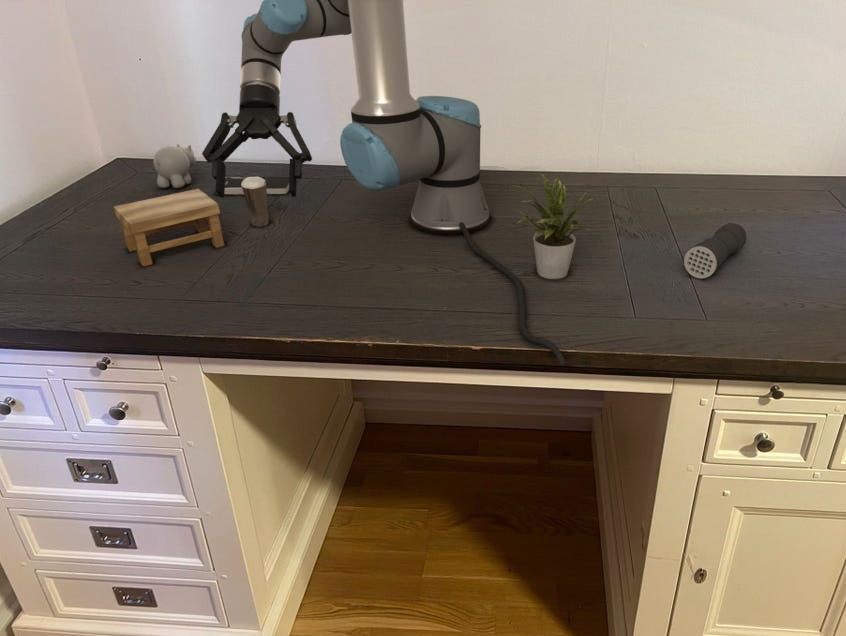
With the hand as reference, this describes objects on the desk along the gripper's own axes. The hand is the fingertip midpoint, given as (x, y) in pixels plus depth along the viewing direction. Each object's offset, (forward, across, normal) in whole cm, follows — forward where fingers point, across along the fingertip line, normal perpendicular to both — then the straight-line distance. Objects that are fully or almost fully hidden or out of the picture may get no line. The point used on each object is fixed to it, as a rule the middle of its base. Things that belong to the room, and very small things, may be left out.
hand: (256, 194), depth 136 cm
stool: (+12, +13, +3) cm, 18 cm away
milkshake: (+4, 0, -5) cm, 6 cm away
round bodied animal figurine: (-14, +23, -23) cm, 35 cm away
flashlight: (+19, -82, +10) cm, 85 cm away
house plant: (+20, -53, +11) cm, 58 cm away
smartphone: (-10, +6, -19) cm, 23 cm away
